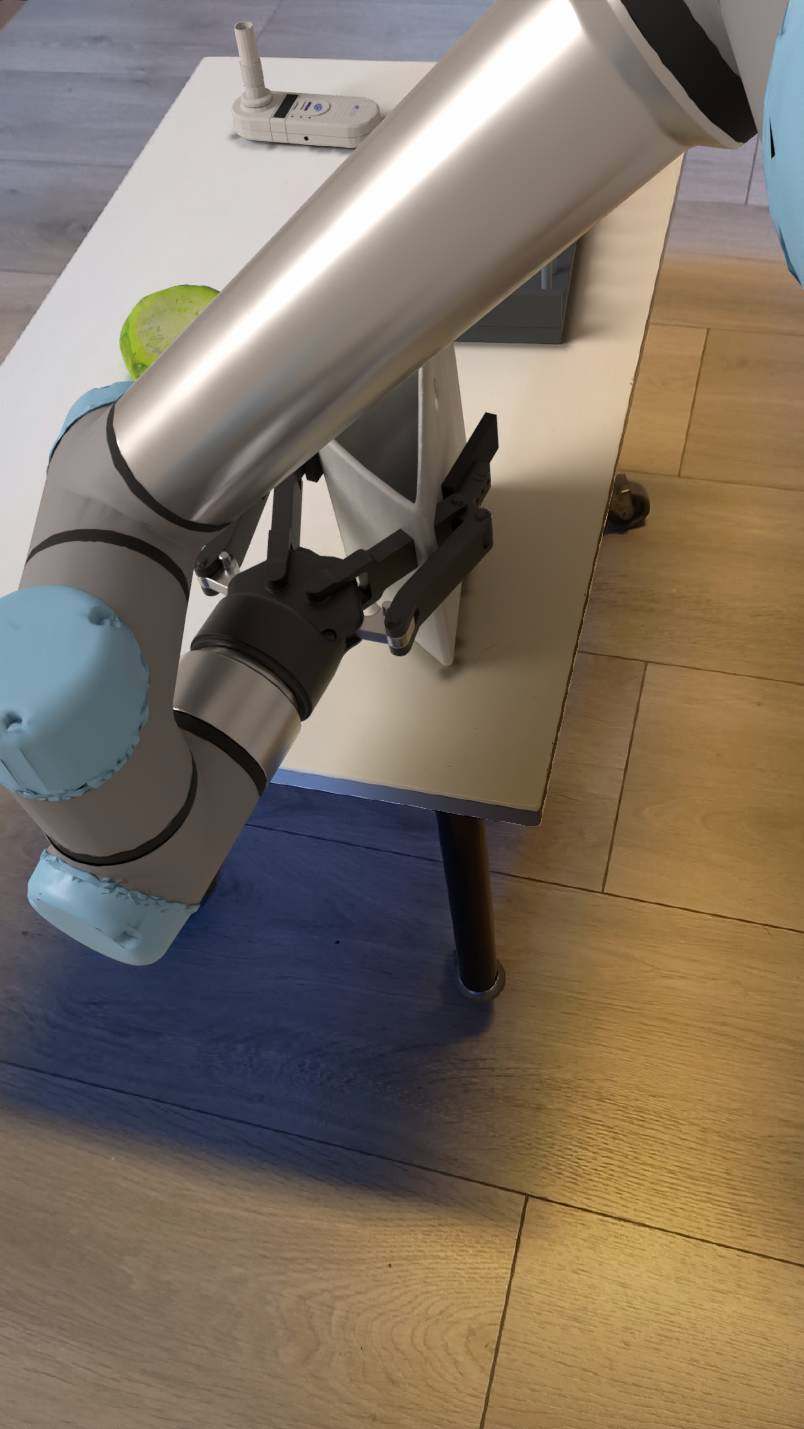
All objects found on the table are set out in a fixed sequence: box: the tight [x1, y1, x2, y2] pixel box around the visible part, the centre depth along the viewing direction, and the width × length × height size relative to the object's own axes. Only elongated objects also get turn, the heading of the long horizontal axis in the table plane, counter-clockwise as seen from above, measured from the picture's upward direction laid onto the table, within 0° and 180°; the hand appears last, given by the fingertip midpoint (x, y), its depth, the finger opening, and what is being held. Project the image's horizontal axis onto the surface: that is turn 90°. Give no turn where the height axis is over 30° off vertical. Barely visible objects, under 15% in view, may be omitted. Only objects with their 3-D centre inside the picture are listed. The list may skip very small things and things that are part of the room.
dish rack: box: [453, 239, 579, 345], centre depth 93 cm, size 20×21×6 cm
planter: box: [317, 341, 468, 667], centre depth 69 cm, size 16×8×19 cm, turn 174°
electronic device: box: [230, 20, 382, 149], centre depth 106 cm, size 5×10×15 cm
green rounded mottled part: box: [119, 283, 221, 382], centre depth 90 cm, size 12×11×5 cm
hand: (422, 413), depth 70 cm, fingers closed on planter, 9 cm apart
